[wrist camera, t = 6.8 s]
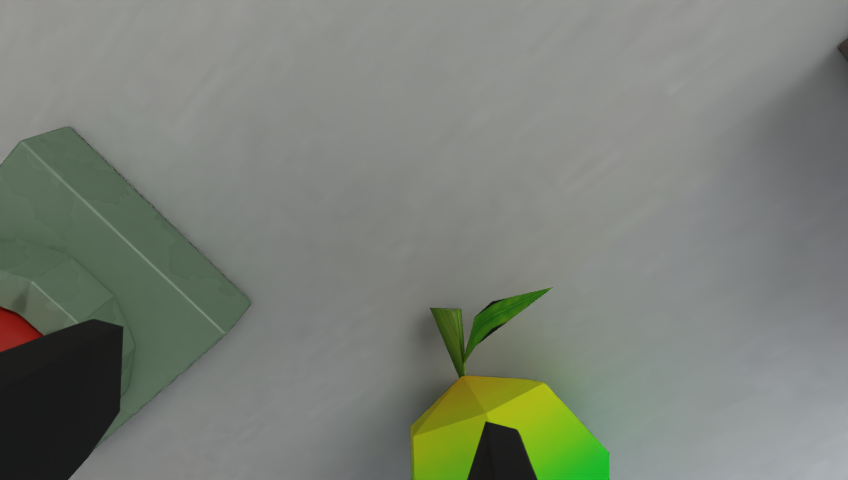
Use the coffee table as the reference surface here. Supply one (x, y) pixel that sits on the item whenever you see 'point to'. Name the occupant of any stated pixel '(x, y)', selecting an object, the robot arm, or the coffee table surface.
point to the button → (15, 330)
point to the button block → (106, 264)
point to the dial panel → (844, 48)
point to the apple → (499, 412)
